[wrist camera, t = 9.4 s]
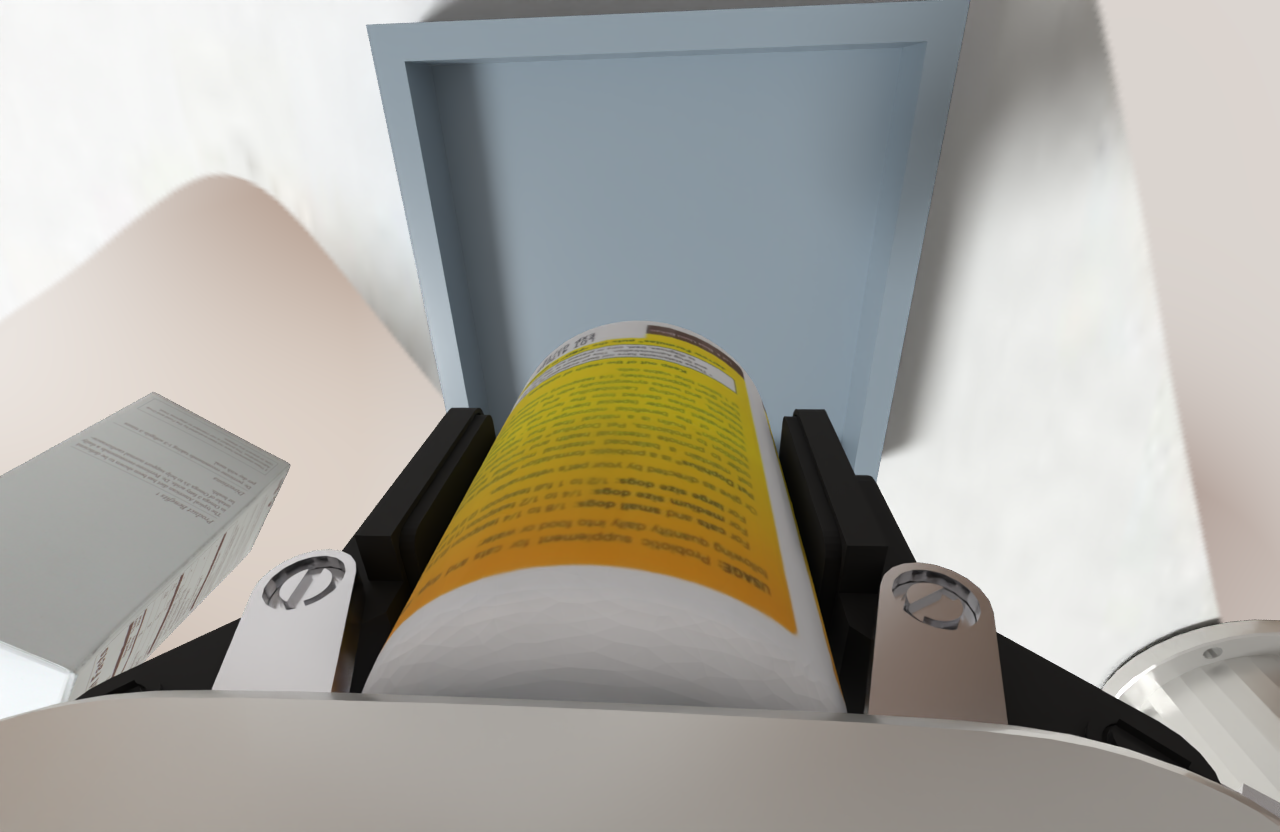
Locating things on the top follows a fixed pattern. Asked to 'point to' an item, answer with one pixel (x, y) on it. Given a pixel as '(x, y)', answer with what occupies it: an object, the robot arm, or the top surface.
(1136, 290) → the top surface
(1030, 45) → the top surface
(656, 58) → the tray
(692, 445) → the supplement bottle
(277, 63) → the top surface
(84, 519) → the supplement box
